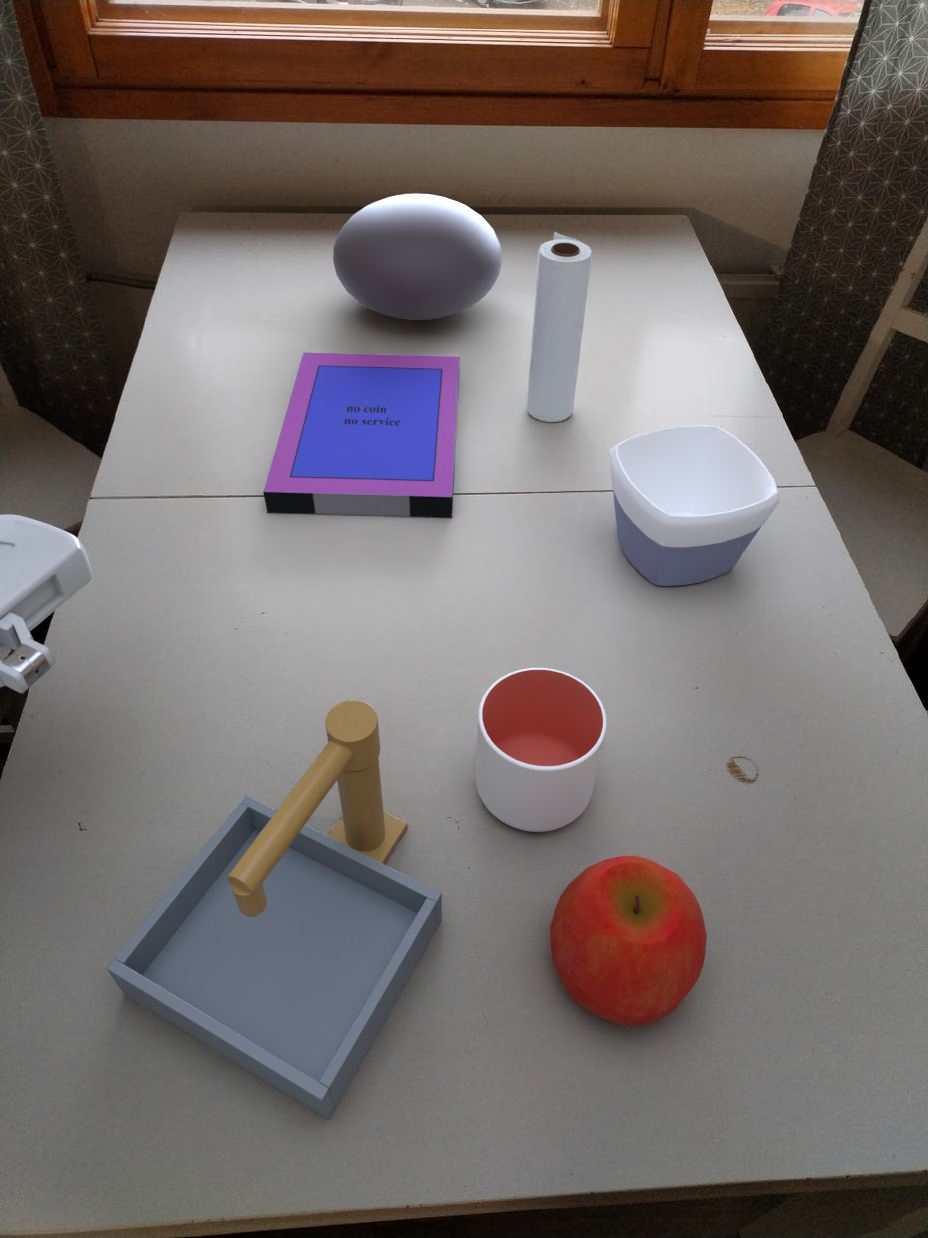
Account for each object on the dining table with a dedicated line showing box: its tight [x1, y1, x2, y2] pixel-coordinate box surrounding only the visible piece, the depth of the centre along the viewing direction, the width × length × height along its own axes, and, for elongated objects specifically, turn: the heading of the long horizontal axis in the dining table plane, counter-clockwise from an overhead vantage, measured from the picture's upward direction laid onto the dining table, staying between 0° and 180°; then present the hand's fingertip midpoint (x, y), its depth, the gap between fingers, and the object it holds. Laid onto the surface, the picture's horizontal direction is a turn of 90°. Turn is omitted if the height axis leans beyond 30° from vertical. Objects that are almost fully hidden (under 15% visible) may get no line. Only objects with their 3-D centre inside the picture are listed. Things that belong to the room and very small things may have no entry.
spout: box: [227, 699, 381, 917], centre depth 59 cm, size 15×4×5 cm, turn 153°
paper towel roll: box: [526, 231, 593, 423], centre depth 109 cm, size 7×6×21 cm
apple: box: [549, 855, 708, 1027], centre depth 62 cm, size 11×11×11 cm
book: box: [262, 351, 461, 519], centre depth 110 cm, size 21×3×30 cm
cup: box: [475, 667, 608, 833], centre depth 73 cm, size 10×10×10 cm
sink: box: [106, 795, 443, 1121], centre depth 64 cm, size 16×18×4 cm
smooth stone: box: [332, 193, 503, 321], centre depth 130 cm, size 25×25×15 cm
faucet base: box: [329, 757, 408, 865], centre depth 68 cm, size 5×5×12 cm
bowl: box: [608, 424, 781, 587], centre depth 94 cm, size 15×15×11 cm
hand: (37, 671), depth 58 cm, fingers closed
